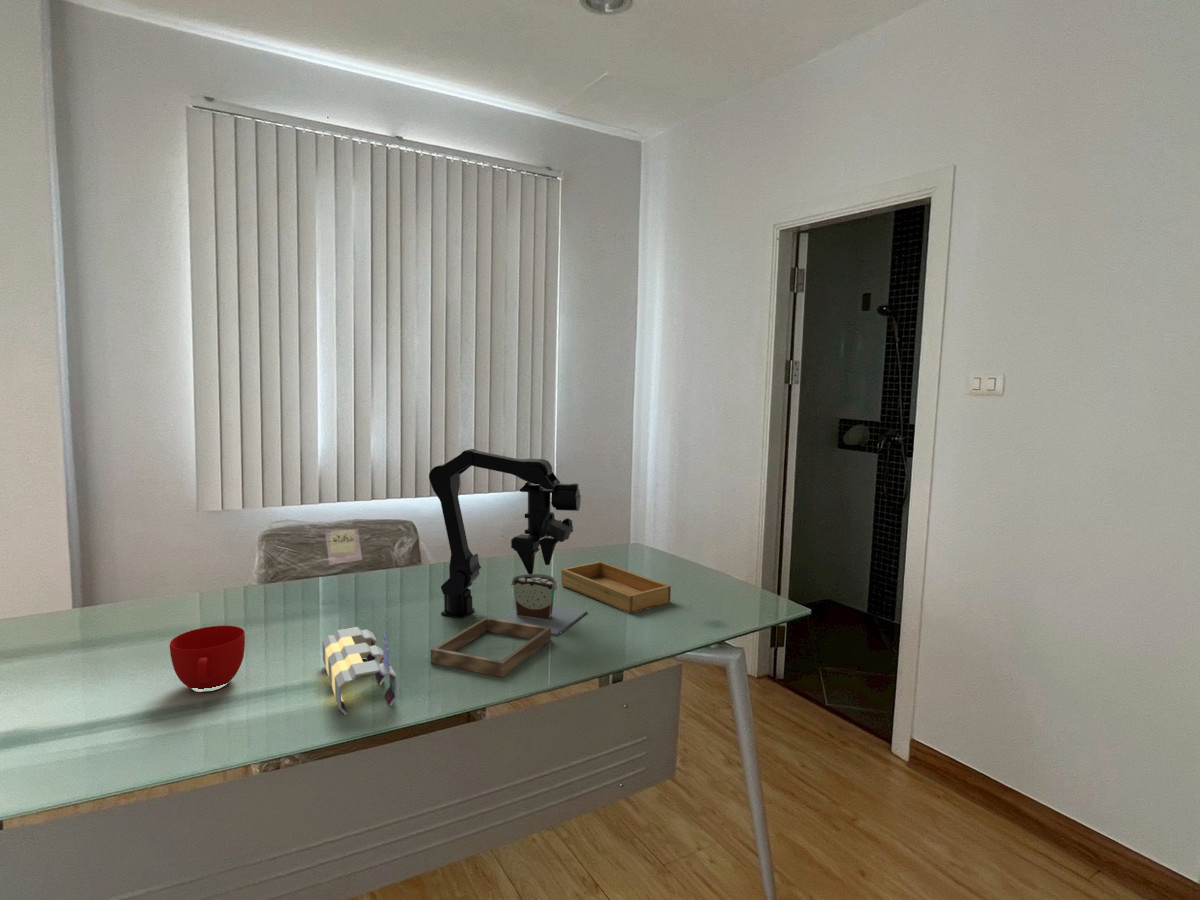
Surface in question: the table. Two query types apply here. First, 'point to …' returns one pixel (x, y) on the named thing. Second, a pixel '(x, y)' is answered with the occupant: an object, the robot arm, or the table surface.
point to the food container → (534, 595)
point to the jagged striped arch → (356, 661)
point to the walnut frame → (448, 657)
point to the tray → (616, 586)
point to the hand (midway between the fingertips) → (539, 569)
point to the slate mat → (558, 621)
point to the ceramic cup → (208, 655)
